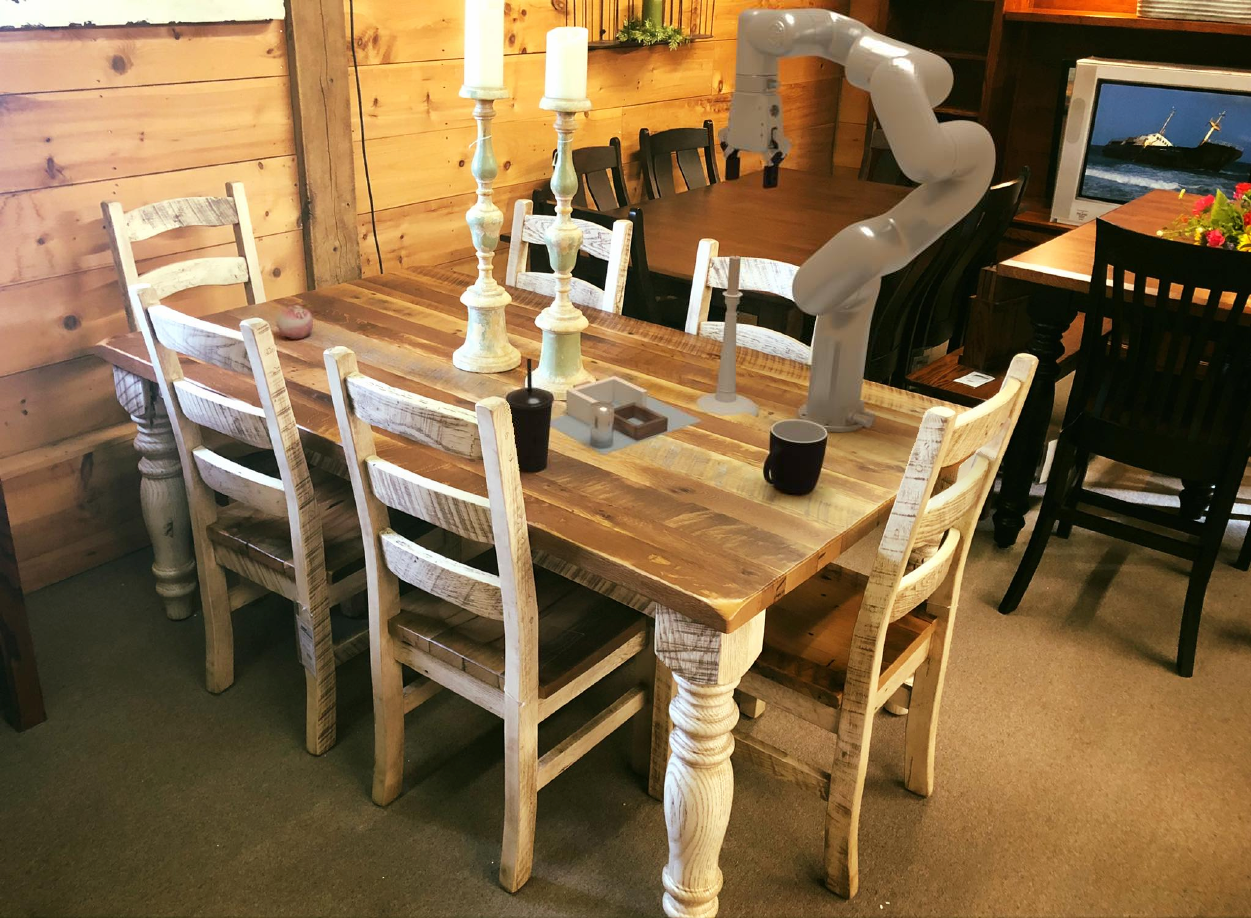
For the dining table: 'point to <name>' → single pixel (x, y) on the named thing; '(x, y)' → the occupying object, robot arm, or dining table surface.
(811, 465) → the mug
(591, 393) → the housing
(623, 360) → the dining table surface
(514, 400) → the drinking cup
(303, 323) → the apple
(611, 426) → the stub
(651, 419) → the socket
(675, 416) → the board
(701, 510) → the dining table surface
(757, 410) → the candlestick
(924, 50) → the robot arm
